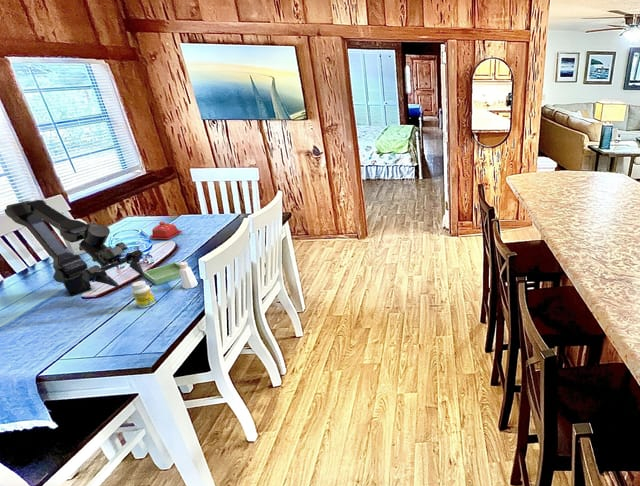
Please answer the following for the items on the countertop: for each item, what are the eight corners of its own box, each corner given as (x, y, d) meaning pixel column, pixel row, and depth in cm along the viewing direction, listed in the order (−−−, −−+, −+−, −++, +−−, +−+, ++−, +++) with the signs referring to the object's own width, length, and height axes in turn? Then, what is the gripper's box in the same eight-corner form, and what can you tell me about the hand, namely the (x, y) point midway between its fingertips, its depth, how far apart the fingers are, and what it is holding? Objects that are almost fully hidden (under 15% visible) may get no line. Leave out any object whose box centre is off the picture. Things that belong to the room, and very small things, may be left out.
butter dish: (169, 240, 205) (164, 226, 202) (147, 240, 205) (142, 225, 202) (184, 232, 216) (180, 218, 212) (164, 232, 216) (159, 217, 212)
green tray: (156, 285, 164) (154, 280, 163) (145, 277, 171) (143, 271, 169) (188, 274, 174) (187, 269, 173) (176, 266, 180) (175, 261, 179)
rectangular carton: (99, 249, 194) (86, 221, 188) (75, 256, 188) (61, 227, 181) (92, 245, 199) (80, 218, 192) (68, 251, 192) (55, 223, 186)
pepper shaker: (196, 281, 168) (189, 258, 164) (199, 286, 165) (191, 263, 160) (181, 285, 165) (173, 262, 160) (184, 290, 161) (175, 267, 157)
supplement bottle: (156, 299, 155) (148, 278, 151) (155, 305, 151) (146, 284, 147) (139, 302, 152) (130, 281, 148) (137, 309, 148) (128, 288, 144)
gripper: (74, 249, 134) (110, 281, 136) (130, 230, 150) (162, 259, 153) (67, 266, 139) (102, 297, 141) (122, 246, 155) (153, 273, 158)
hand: (131, 280), depth 148 cm, fingers open, 9 cm apart
